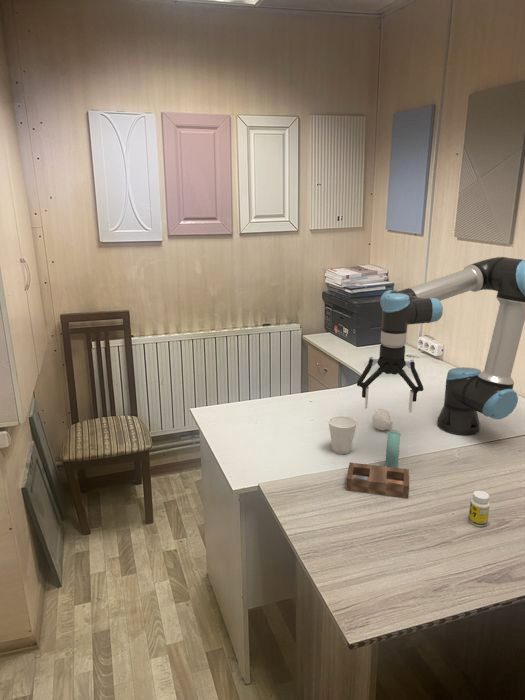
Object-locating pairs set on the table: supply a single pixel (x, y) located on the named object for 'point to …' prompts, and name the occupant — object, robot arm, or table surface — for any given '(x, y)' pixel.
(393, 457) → the plug
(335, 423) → the cup
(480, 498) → the supplement bottle
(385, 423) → the beige round lump
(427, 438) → the table surface
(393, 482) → the socket block
